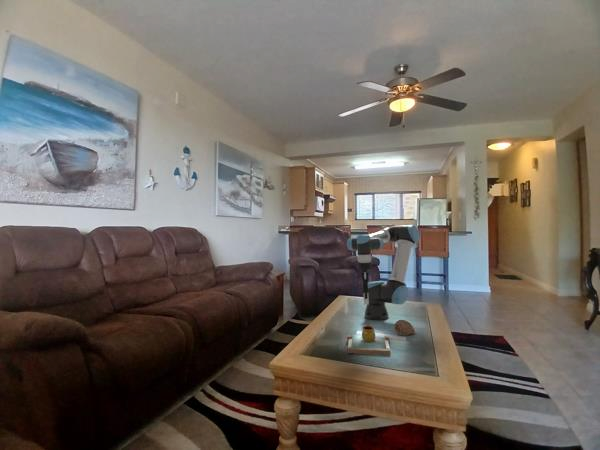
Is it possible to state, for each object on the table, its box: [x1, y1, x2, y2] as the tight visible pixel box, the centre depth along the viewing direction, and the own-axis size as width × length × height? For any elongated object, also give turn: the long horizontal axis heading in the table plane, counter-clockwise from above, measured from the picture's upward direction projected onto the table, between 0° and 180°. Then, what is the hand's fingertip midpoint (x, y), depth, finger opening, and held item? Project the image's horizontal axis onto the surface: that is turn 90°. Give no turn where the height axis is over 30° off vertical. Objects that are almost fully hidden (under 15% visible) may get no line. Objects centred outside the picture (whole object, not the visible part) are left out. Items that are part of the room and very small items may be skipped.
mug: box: [361, 324, 376, 343], centre depth 158 cm, size 12×7×7 cm, turn 175°
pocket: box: [346, 334, 391, 356], centre depth 145 cm, size 16×21×3 cm
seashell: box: [393, 319, 416, 337], centre depth 163 cm, size 10×9×10 cm
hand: (366, 304), depth 169 cm, fingers closed
